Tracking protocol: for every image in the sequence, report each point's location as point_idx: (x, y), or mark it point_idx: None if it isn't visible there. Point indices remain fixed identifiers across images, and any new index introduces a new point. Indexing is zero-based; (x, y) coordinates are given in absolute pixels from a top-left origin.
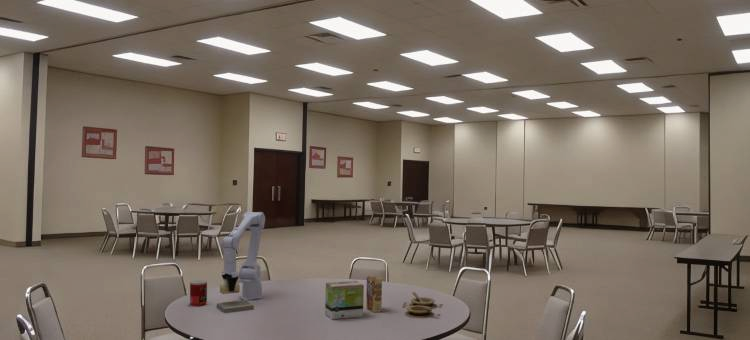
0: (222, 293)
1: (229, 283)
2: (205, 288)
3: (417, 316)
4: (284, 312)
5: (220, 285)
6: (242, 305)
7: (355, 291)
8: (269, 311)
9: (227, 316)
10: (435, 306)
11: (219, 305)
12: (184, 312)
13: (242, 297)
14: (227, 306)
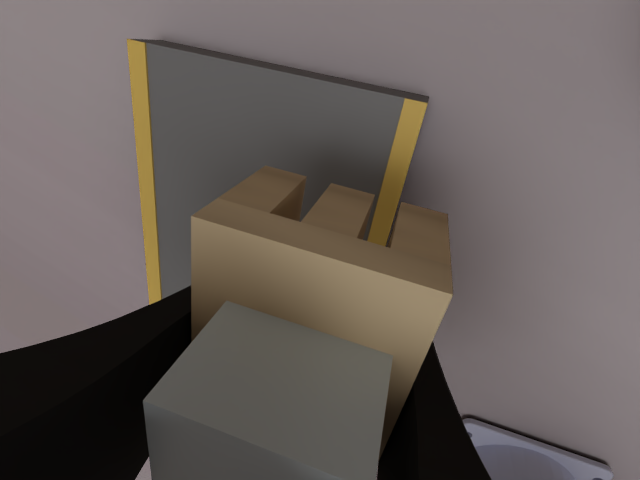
0: (290, 175)
1: (82, 340)
2: None
3: None
4: (39, 340)
5: (406, 274)
6: (175, 246)
7: None
8: (84, 311)
9: (39, 3)
10: None
11: (301, 75)
12: None
13: (541, 456)
14: (206, 124)
